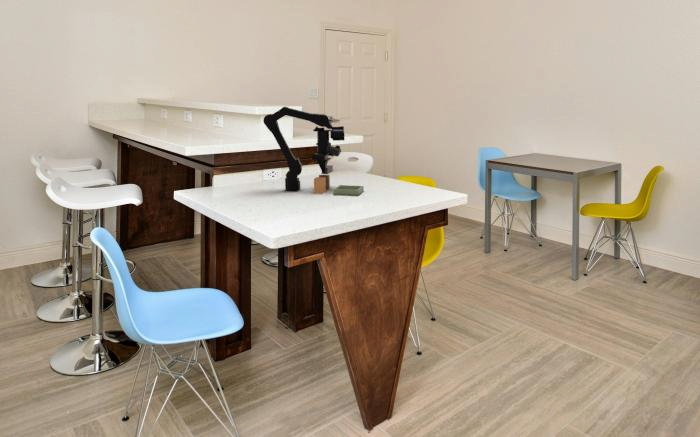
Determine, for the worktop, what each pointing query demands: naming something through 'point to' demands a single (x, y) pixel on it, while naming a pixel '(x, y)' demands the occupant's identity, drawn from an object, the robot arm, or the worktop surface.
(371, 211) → the worktop surface
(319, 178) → the orange brown block
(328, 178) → the wood grain block
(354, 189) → the tray
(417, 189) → the worktop surface
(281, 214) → the worktop surface
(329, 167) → the dark gray block
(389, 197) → the worktop surface
